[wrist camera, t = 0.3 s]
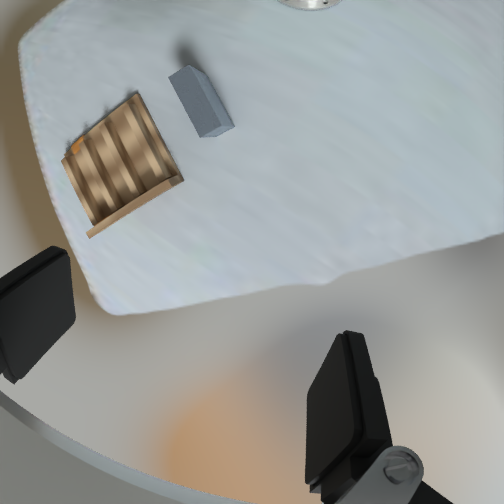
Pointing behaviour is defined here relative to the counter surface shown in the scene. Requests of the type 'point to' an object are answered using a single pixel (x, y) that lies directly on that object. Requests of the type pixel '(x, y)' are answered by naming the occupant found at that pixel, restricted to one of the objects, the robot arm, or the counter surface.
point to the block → (201, 102)
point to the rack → (120, 165)
